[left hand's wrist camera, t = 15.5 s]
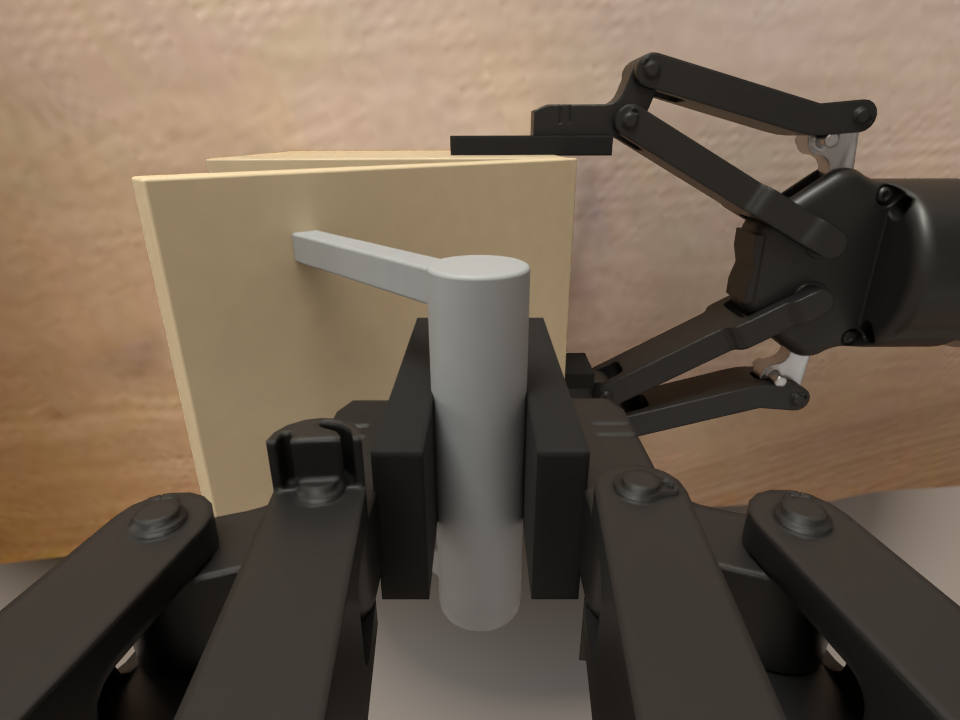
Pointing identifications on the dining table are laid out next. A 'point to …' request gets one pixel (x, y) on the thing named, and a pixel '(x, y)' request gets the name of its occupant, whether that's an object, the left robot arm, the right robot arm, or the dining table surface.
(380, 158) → the chest
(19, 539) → the dining table surface
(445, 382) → the lid
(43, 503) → the dining table surface
